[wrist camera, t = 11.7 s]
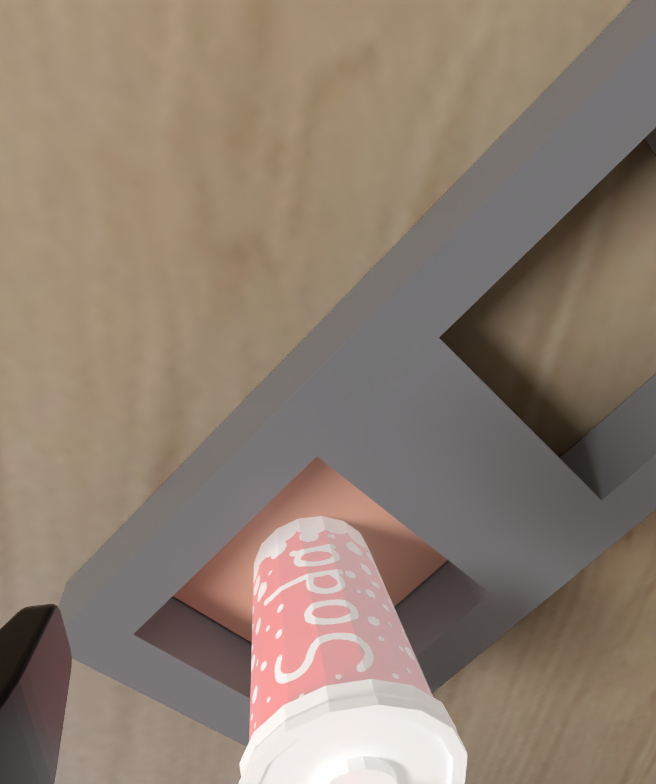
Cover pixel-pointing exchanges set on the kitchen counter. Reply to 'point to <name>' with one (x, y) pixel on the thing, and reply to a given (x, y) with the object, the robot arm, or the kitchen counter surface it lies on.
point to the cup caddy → (396, 437)
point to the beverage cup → (337, 671)
